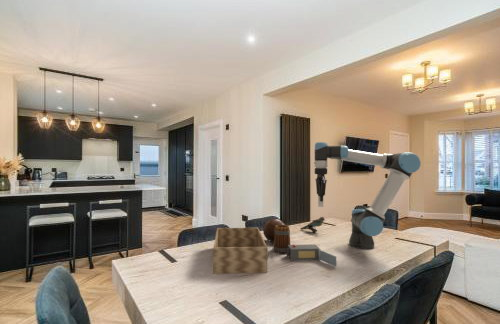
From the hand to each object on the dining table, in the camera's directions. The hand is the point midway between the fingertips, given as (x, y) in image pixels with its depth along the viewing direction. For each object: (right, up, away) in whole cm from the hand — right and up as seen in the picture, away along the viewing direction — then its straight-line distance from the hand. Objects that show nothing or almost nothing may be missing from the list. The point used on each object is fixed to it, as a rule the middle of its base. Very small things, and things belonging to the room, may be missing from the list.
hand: (320, 206), depth 159 cm
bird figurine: (+5, -27, +43) cm, 51 cm away
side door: (-3, -26, -22) cm, 34 cm away
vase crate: (-49, -26, -15) cm, 58 cm away
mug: (-23, -27, 0) cm, 35 cm away
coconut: (-27, -27, +17) cm, 41 cm away
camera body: (-13, -26, -13) cm, 32 cm away
